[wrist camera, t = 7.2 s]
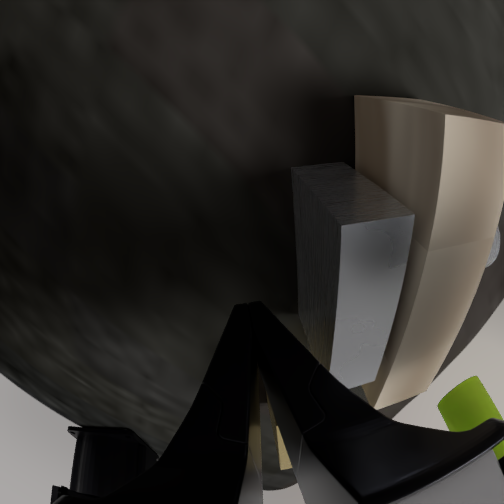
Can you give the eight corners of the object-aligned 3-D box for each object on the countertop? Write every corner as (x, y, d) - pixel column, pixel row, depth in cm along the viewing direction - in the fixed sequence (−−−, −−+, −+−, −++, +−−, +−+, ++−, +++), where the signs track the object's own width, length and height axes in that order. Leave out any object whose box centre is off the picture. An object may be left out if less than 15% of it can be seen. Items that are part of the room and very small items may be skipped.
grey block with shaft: (298, 313, 14) (326, 394, 10) (290, 167, 10) (341, 225, 6) (447, 277, 14) (493, 331, 10) (471, 156, 11) (543, 196, 7)
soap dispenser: (457, 403, 28) (509, 519, 11) (428, 410, 26) (484, 545, 9) (487, 373, 25) (550, 493, 8) (463, 377, 23) (532, 521, 6)
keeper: (267, 403, 18) (280, 469, 14) (258, 335, 14) (276, 426, 10) (285, 399, 18) (301, 465, 14) (282, 331, 14) (306, 420, 10)
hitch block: (340, 338, 15) (372, 411, 11) (353, 95, 9) (445, 114, 5) (388, 325, 15) (426, 390, 11) (419, 99, 9) (514, 125, 5)
